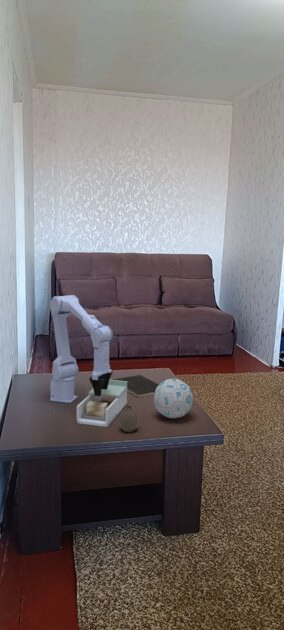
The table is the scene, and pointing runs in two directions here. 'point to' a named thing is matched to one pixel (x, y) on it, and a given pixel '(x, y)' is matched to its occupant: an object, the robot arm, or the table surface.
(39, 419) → the table surface
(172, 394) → the puzzle ball
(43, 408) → the table surface
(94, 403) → the tan rectangular block
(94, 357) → the robot arm
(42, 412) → the table surface
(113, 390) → the lid
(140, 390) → the hardcover book
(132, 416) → the vase
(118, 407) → the housing
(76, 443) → the table surface
